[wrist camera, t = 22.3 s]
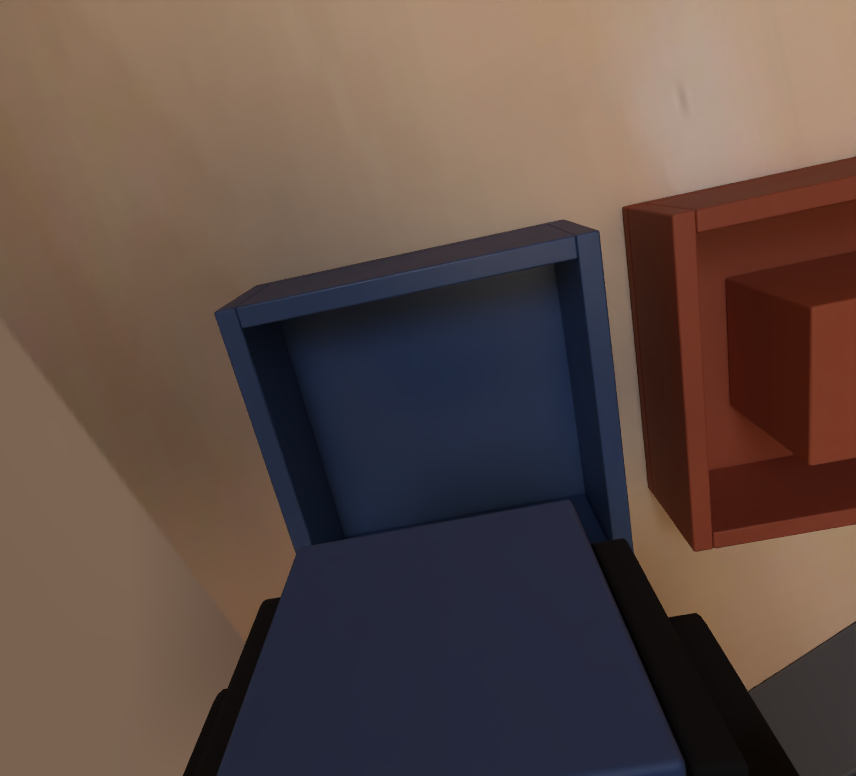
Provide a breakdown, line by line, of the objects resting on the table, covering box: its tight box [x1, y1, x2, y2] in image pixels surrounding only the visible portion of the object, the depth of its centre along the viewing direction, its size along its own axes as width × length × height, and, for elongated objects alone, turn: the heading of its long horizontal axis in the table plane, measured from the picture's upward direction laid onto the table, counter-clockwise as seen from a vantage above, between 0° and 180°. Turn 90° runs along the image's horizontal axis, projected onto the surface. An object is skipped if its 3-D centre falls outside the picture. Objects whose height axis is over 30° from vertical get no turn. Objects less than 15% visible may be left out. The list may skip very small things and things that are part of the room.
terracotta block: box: [726, 251, 856, 466], centre depth 17 cm, size 4×4×4 cm
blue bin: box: [215, 220, 634, 553], centre depth 19 cm, size 10×10×4 cm
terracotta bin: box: [623, 157, 856, 552], centre depth 18 cm, size 10×10×4 cm
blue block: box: [217, 500, 686, 776], centre depth 8 cm, size 4×4×4 cm
